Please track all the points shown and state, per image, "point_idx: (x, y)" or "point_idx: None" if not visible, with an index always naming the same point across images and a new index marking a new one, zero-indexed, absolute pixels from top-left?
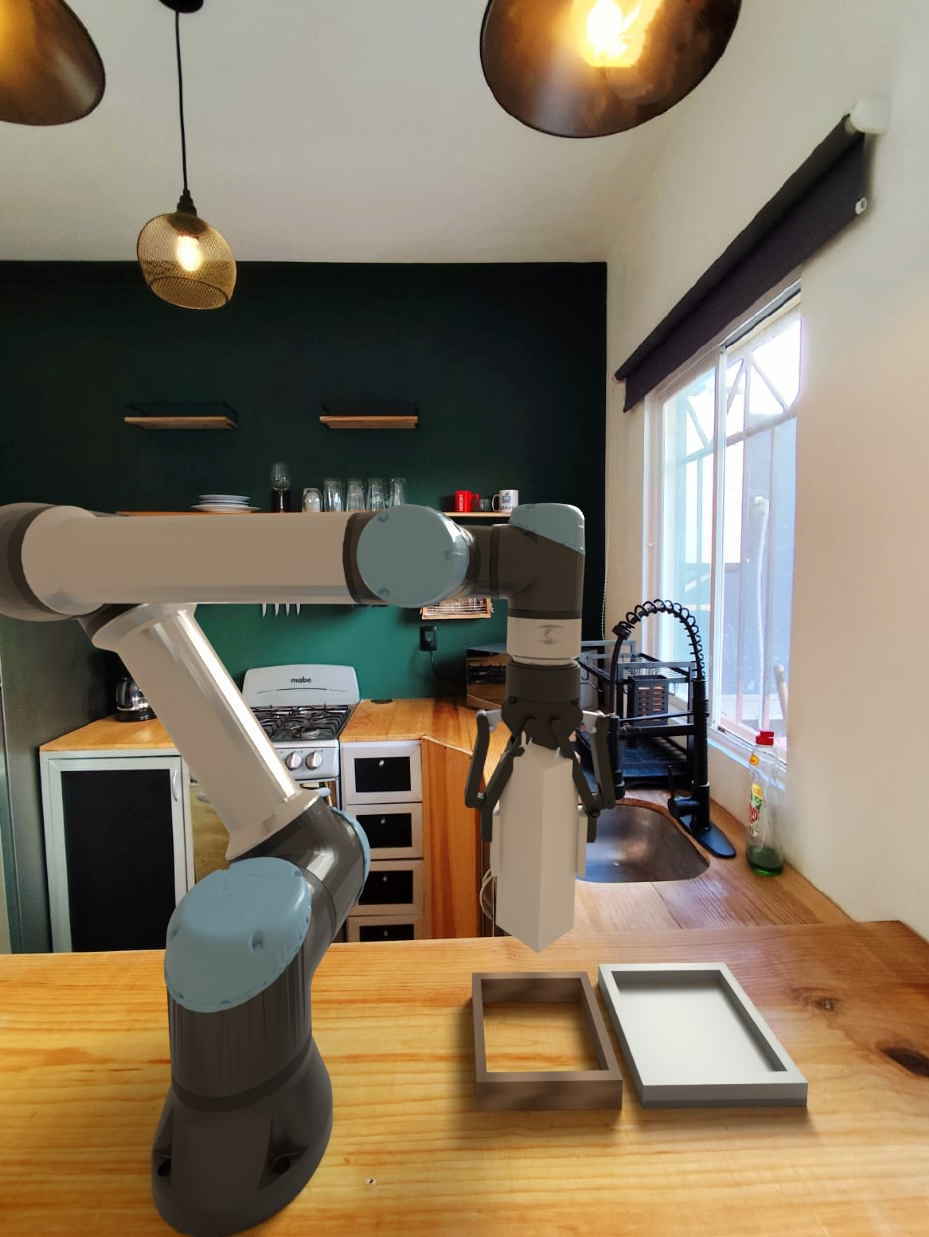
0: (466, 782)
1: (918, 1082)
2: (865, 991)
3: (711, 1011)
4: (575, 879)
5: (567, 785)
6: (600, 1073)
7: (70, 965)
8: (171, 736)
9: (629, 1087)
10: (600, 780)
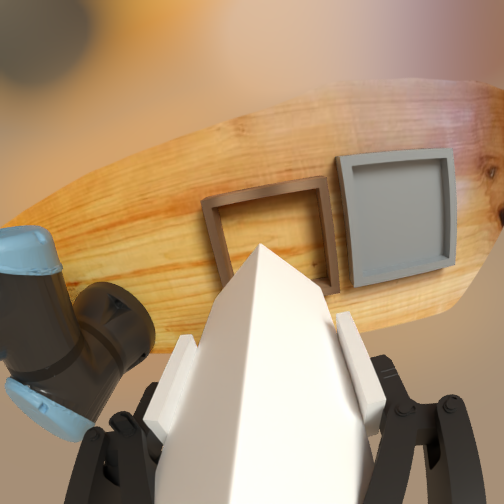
0: (80, 454)
1: (500, 232)
2: None
3: (425, 192)
4: (334, 327)
5: None
6: (324, 290)
7: None
8: None
9: (344, 265)
10: (427, 489)
